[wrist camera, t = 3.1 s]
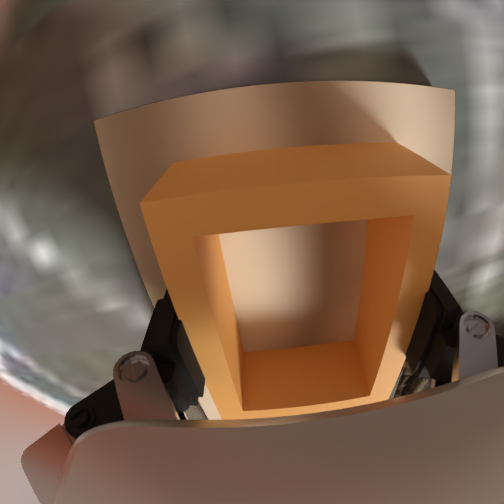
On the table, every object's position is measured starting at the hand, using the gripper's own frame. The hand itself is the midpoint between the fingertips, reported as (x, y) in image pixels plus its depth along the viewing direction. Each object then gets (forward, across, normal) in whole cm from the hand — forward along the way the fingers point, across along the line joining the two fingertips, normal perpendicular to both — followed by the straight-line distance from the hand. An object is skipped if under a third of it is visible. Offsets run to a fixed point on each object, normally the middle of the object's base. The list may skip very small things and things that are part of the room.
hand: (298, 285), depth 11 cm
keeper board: (+2, 0, +8) cm, 8 cm away
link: (0, 0, 0) cm, 0 cm away
